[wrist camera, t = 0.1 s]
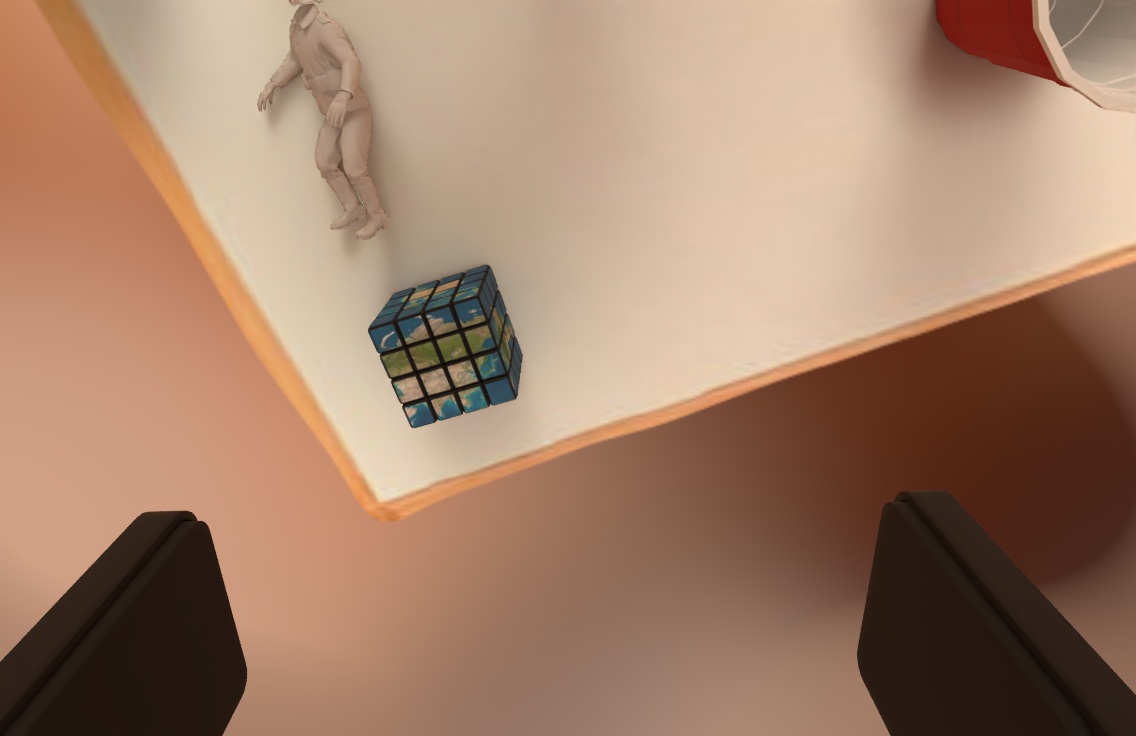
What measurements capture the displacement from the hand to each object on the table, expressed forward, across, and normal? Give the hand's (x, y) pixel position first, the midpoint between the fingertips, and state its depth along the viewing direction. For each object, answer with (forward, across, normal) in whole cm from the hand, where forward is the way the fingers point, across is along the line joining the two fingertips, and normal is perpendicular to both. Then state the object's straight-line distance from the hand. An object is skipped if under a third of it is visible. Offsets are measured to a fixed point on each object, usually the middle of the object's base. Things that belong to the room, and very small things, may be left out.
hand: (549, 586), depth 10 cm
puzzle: (+31, +6, +7) cm, 33 cm away
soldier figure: (+31, +11, -5) cm, 34 cm away
